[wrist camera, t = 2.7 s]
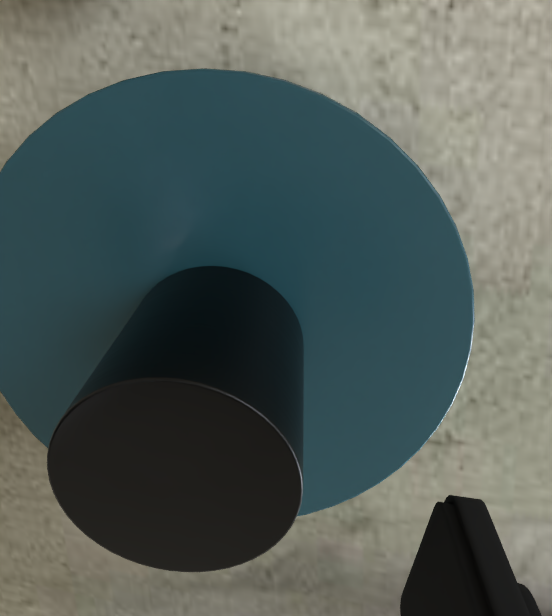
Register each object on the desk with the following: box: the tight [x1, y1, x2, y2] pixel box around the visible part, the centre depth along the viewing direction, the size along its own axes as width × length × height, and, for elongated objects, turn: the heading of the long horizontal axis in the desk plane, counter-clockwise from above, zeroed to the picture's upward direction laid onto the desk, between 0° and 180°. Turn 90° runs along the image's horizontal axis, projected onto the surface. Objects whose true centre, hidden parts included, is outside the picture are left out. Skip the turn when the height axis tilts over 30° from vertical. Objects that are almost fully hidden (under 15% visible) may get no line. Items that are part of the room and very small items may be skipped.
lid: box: [0, 69, 474, 572], centre depth 13 cm, size 15×15×7 cm
